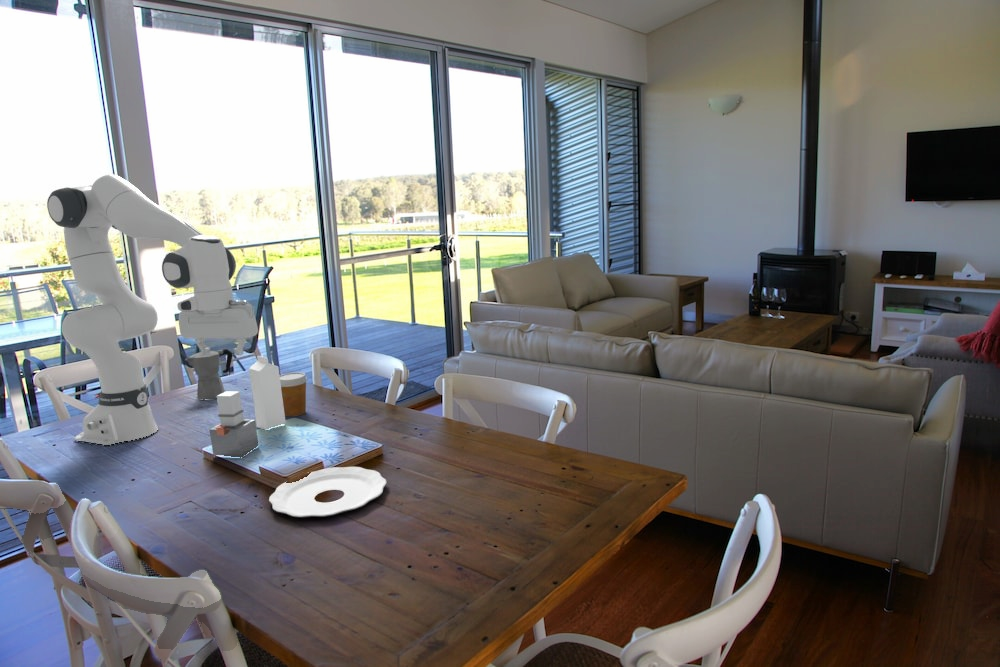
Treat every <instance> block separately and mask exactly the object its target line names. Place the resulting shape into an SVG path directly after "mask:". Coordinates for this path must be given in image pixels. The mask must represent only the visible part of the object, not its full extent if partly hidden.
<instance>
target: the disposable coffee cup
mask: <svg viewBox="0 0 1000 667" xmlns="http://www.w3.org/2000/svg"><path fill="white" fill-rule="evenodd" d="M279 375H280V383H281V390H282V398H283V406H284V414H285V417H298V416H301V415H304V414H305V413H306V412H307V411H306V410H307V409H306V406H307V402H306V401H307V398H306V397H307V380H308V377H307V376H306V373H304V372H288V373H283V374H279Z"/></svg>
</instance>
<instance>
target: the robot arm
mask: <svg viewBox="0 0 1000 667" xmlns="http://www.w3.org/2000/svg"><path fill="white" fill-rule="evenodd" d="M46 206H47V212H48V214H49V217H50V219H51V220H52V221H53V222H54V223H55V224H56V225H57V226H59V227H62V228H63V234H64V244H65V245H64V246H65V249H66V255H67V258H68V261H69V264H70V268H71V271H72V275H73V277H74V280H75V284H76V286H77V288H78V289H80V290H82V291H83V292H85V293H88V294H92V295H94V296H95V297H96V298H98V299H99V301H100V302H101V303H102V305H101V304H100V305H97V306H90V307H84V308H82V309H79V310H76V311H73V312H70V313H68V314H67V315H66V316H64V318H63V321H62V322H61V334H62V337H64V340H65V342H67V343H68V344H69V345H71V346H72V347H73V348H76V349H78V350H80V351H82V352H83V353H84V354H86V356H88V357H89V358H90V359H91V361H92V363H93V364H94V366H95V368H96V373H97V376H98V380H99V385H100V389H101V391H100V392H98V393H96V394H94V395H93V396H94V399H98V402H97V403H98V404H97V405H96V406H95V407H94V408H93V409H92V410H91V411H90V412H88V413H87V414H86V416H85V417H84V418H83V420H82V432H80V433H78V434H77V435H76V436H75V437H74V441H75V440H81V441H86V442H91V443H97V444H103V445H102V446H104V445H110V446H112V445H111V444H114V445H116V444H115V443H118V444H120V443H119V442H122V443H125V442H124V441H128V442H132V441H131V440H133V441H136V440H135V439H137V440H140V439H139V438H141V439H144V438H147V437H149V436H152V435H153V433H154V434H156V433H157V432H158V431H157V430H159V427H158V425H157V422H156V420H155V418H154V416H153V411H152V408H151V405H150V403H149V393H148V386H147V384H146V383H145V381H144V380H145V379H144V375H143V374H144V373H143V368H142V363H141V360H140V359H139V358H138V357H137V356H136V355H134V354H132V353H127V352H123V350H122V349H121V346H120V345H119V343H120V342H121V341H126V340H131V339H135V338H139V337H141V336H143V335H146V334H148V333H150V332H152V331H154V330H155V329H156V326H157V324H158V313H157V311H156V308H155V307H154V306H153V305H152V304H151V303H150V302H149V301H147V300H144V299H143V298H141V297H139V296H138V295H137V294H136V293H134V292H133V291H132V290H131V288H129V286H128V285H127V284H126V282H125V281H124V279H123V277H122V274H121V272H120V269H119V267H118V263H117V260H116V256H115V255H114V250H113V248H112V245H111V242H110V239H109V230H110V228H113V229H115V230H118V232H120V233H122V234H124V235H126V236H127V237H130V238H133V239H139V240H140V239H142V240H143V239H145V240H158V241H160V240H161V241H167V242H171V243H174V244H175V245H179V246H180V248H178V249H176V250H174V251H171V252H168V253H166V255H165V257H164V258H163V260H162V263H161V272H162V276H163V278H164V280H165V281H166V282H167V283H168V285H170V286H171V287H173V288H174V289H191V288H193V296H191V297H188V298H187V299H183V300H182V301H179V302H178V303H177V309H178V311H180V312H179V314H178V327H179V333H180V336H182V338H183V339H188V340H189V339H192V340H193V339H194V340H195V344H196V345H197V347H198V348H199V349H200V352H201V353H202V355H203V356H205V355H210V354H211V351H212V350H211V347H208V346H207V344H206V343H205V341H206V339H235V342H236V343H237V345H236V347H235V348H233V352H234V354H233V355H234V356H242V355H244V347H245V344H246V342H247V339H250V338H253V337H255V336H256V335H257V334H258V333H259V327H258V323H257V319H256V316H255V310H254V306H253V305H252V303H250V302H248V301H247V300H234V293H233V287H232V283H231V282H230V280H231V279H232V277H233V276H234V275H235V272H236V269H237V262H236V259H235V257H234V255H233V253H232V252H231V251H230V249H228V248H227V247H226V246H225V245H224V243H223V241H222V239H221V238H220V237H217V236H215V235H205V234H203V232H200V231H199V230H198V229H197V228H195V227H194V226H193V225H191V224H190V223H189V222H187V220H185V219H183V218H181V217H180V216H179V215H176V214H175V213H172V212H170V211H169V210H166V209H165V208H163V207H161V206H160V205H158V204H157V203H155V202H153V201H152V200H151V199H150V198H148V197H147V196H146V195H145V194H143V192H142V191H140V190H139V189H138V188H137V187H136V186H135V185H133V184H132V183H131V182H129V181H127V180H126V179H124V177H123V178H122V177H121V176H119V175H116V174H105V175H102V176H101V177H99V178H97V179H96V180H95V181H94V182H93V183H92V184H91V185H87V186H85V185H84V186H77V187H64V188H63V187H61V188H58V189H55V190H53V191H52V192H51V193H50V194H49V197H48V198H47V203H46ZM151 434H152V435H151ZM146 436H147V437H146ZM143 437H144V438H143ZM91 443H90V444H91ZM97 444H96V445H97Z"/></svg>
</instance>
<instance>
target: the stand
mask: <svg viewBox="0 0 1000 667" xmlns="http://www.w3.org/2000/svg"><path fill="white" fill-rule="evenodd" d="M243 419H244V420H245V423H244V425H242V426H241V427H239V428H237V429H226V426H220V425H221V423H219V424H217V425H215V426H213V427H212V428H210V429H208V430H209V435H210V436H209V437H210V442H211V448H212V449H211V450H212V455H213V458H214V459H216V458H215V456H216V455H224V456H231V457H240V458H241V457H243V456H244V455H246V454H247V453H248V452H250V451H251V450H253V449H254V448H256V447H257V446H258V445H259V439H258V438H259V437H258V432H257V423H256V419H247V418H243ZM259 446H260V445H259Z"/></svg>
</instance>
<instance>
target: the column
mask: <svg viewBox="0 0 1000 667" xmlns="http://www.w3.org/2000/svg"><path fill="white" fill-rule="evenodd" d="M240 393H241V392H240V391H236V390H235V391H231V390H230V391H229V390H228V391H227V390H225V392H224V393H222V394H219V395H217V399H216V401H217V409H218V414H217V415H218V416H217V417H219V422H220V423H221V425H220V426H226V429H237V428H239V427H241V426H242V425H244V423H245V420H244V419H245V418H244V413H243V412H244V409H243V405H242V398H241V394H240ZM220 423H219V424H220Z"/></svg>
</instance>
